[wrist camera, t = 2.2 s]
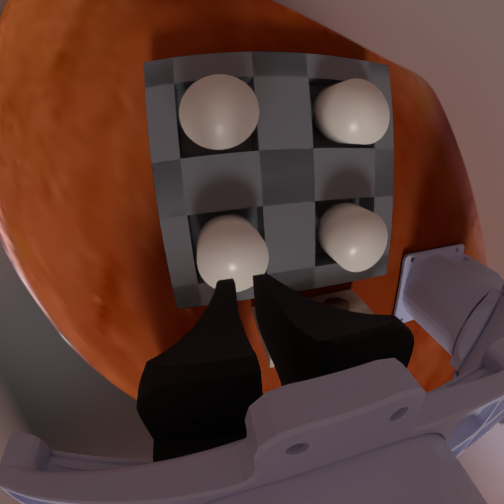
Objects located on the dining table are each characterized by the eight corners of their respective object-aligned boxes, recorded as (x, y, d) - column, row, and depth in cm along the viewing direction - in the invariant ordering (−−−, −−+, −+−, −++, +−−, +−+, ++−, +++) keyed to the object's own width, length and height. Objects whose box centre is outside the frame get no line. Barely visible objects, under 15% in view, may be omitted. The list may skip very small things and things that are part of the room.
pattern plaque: (351, 286, 25) (390, 326, 19) (350, 296, 25) (387, 338, 19) (251, 304, 23) (269, 356, 17) (252, 314, 24) (270, 367, 18)
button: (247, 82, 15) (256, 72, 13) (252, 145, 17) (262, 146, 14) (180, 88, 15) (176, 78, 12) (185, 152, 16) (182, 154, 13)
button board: (366, 71, 18) (387, 65, 15) (367, 260, 24) (386, 274, 21) (151, 73, 16) (144, 62, 13) (179, 288, 22) (177, 308, 19)
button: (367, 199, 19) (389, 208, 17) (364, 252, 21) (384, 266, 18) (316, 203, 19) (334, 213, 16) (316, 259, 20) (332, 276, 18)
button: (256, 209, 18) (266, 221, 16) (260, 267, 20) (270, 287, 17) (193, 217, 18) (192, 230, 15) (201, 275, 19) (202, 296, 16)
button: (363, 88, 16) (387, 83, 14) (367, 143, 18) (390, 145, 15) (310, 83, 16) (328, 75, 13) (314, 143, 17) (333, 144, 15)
